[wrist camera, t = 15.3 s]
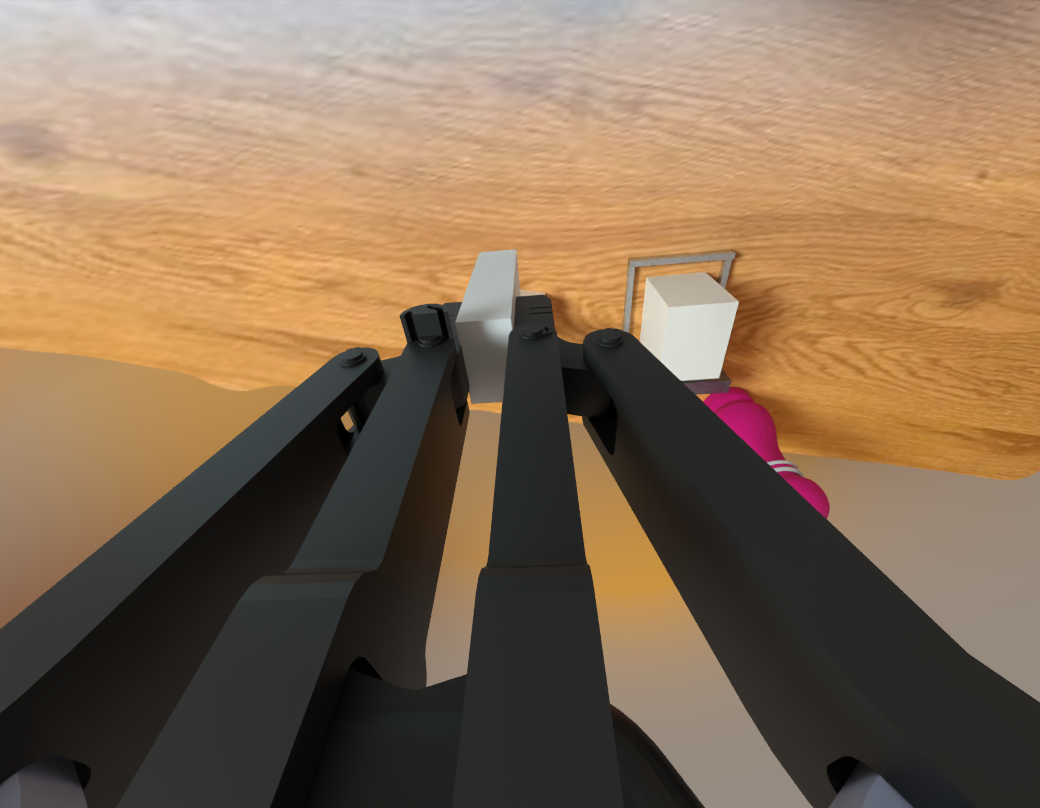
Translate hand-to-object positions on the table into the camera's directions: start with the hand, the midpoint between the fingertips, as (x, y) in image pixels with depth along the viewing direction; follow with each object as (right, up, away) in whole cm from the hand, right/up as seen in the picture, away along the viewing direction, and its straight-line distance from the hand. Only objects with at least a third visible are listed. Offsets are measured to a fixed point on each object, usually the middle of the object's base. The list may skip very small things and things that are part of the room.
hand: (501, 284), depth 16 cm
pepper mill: (+28, -5, +34) cm, 44 cm away
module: (+17, +5, +26) cm, 32 cm away
